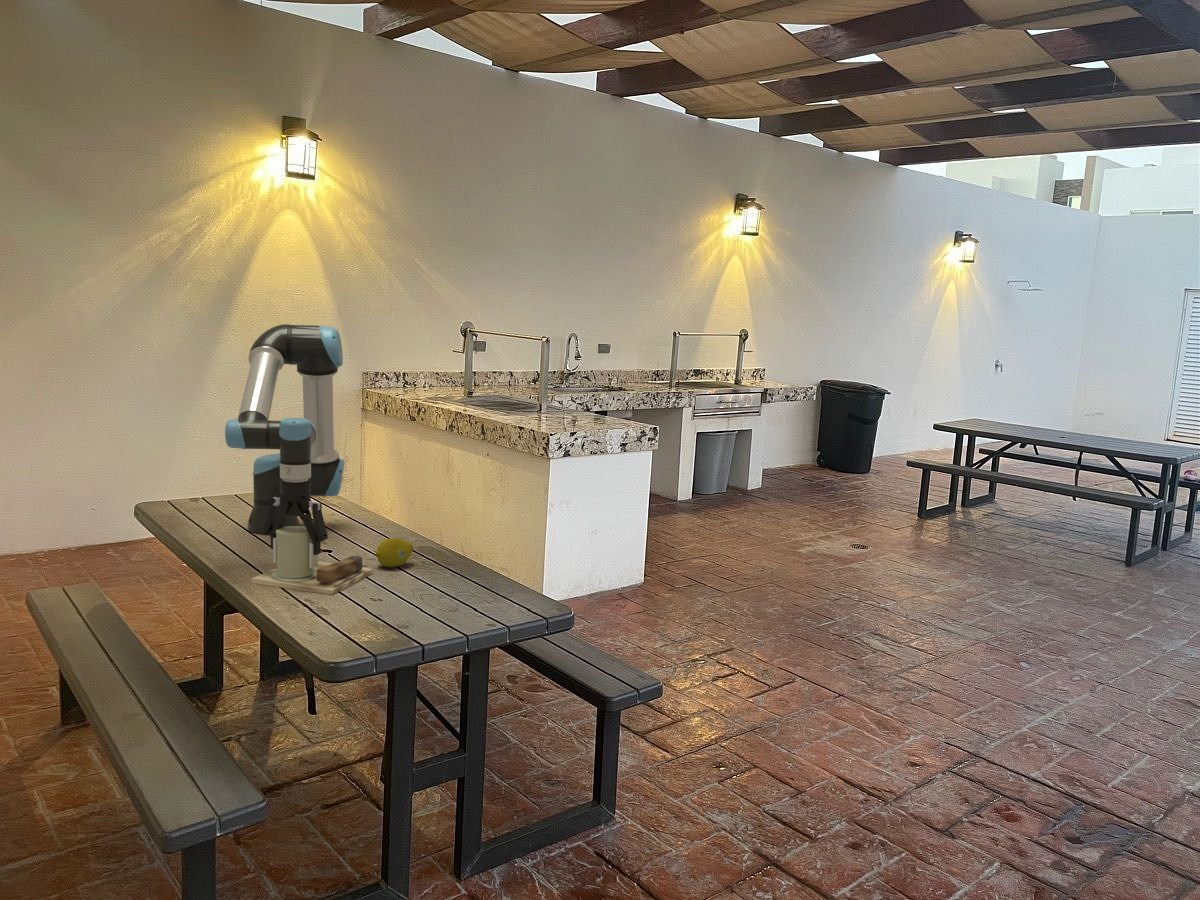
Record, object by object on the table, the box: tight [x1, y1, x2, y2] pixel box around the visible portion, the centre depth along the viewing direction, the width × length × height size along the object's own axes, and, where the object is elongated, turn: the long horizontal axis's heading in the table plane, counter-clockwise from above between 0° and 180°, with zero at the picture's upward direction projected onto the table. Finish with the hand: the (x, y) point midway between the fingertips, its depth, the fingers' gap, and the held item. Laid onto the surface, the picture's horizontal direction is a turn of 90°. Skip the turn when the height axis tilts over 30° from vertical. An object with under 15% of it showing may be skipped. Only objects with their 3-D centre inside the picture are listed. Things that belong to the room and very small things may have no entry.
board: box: [251, 560, 374, 596], centre depth 239 cm, size 20×23×2 cm
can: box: [276, 525, 314, 578], centre depth 236 cm, size 9×9×12 cm
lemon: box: [374, 537, 414, 569], centre depth 252 cm, size 11×8×8 cm
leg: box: [317, 555, 363, 583], centre depth 237 cm, size 15×4×3 cm, turn 158°
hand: (295, 563), depth 237 cm, fingers open, 10 cm apart
